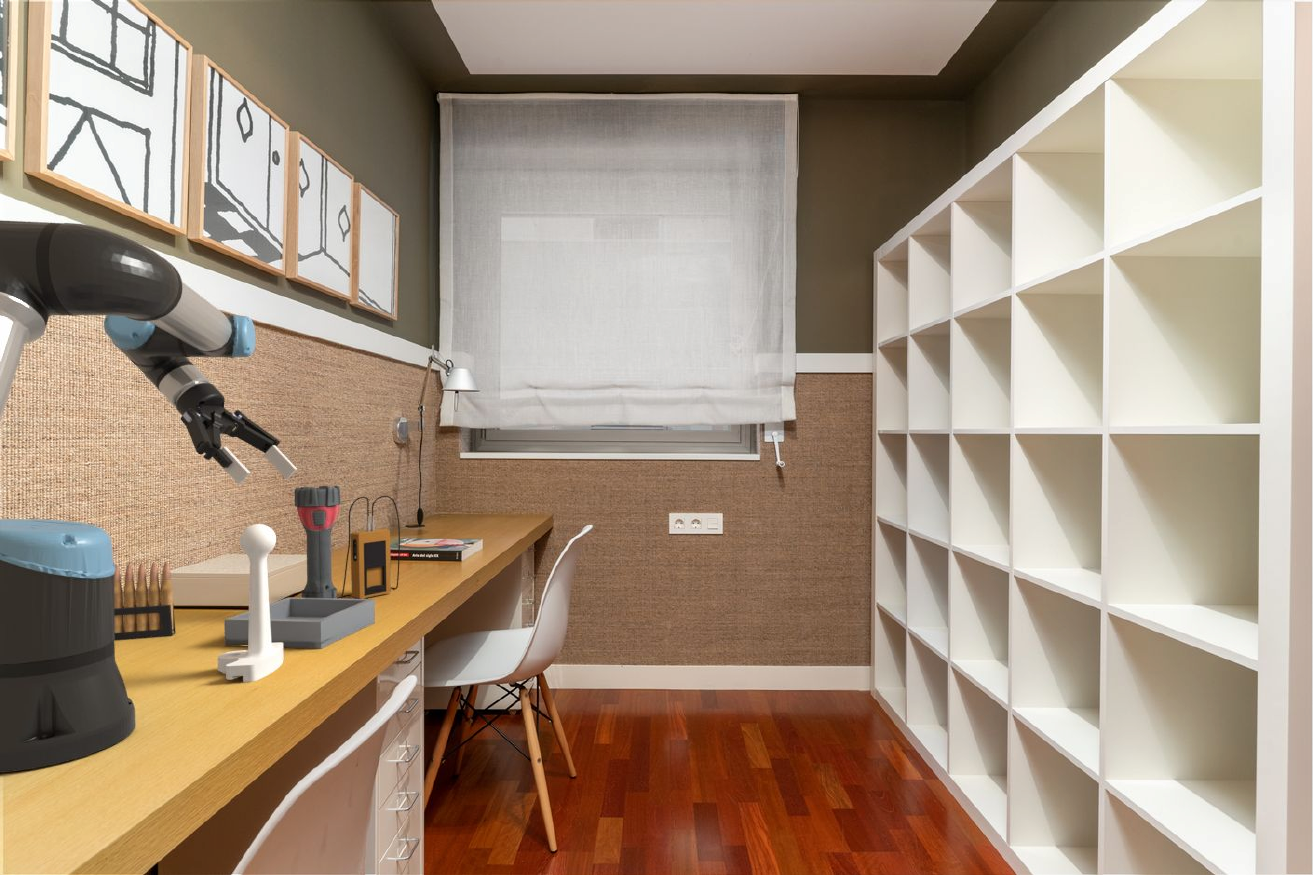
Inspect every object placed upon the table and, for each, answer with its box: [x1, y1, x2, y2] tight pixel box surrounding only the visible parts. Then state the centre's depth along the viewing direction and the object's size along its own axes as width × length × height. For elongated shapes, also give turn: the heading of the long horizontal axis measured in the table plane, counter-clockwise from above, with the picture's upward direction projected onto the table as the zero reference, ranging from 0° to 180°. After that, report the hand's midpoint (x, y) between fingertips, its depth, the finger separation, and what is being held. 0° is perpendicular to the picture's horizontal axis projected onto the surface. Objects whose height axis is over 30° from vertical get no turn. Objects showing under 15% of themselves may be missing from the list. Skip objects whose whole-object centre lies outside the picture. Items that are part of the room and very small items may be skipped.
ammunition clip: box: [114, 561, 177, 642], centre depth 126 cm, size 11×2×12 cm, turn 107°
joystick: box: [217, 523, 285, 683], centre depth 107 cm, size 11×8×20 cm
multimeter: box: [337, 495, 401, 599], centre depth 157 cm, size 15×10×20 cm
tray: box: [223, 596, 376, 650], centre depth 127 cm, size 16×16×4 cm
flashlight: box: [294, 485, 342, 598], centre depth 141 cm, size 8×8×23 cm
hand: (269, 476), depth 143 cm, fingers open, 13 cm apart
